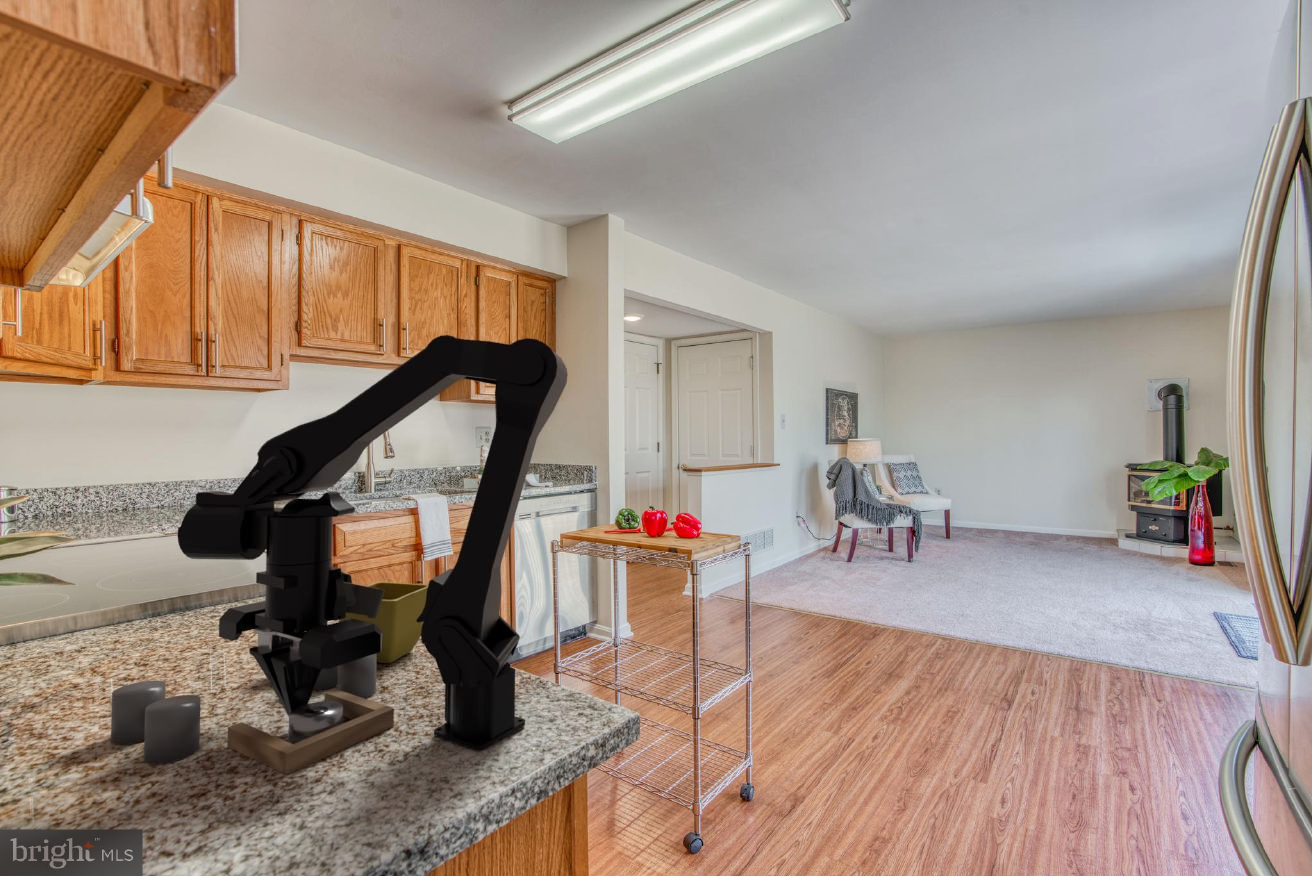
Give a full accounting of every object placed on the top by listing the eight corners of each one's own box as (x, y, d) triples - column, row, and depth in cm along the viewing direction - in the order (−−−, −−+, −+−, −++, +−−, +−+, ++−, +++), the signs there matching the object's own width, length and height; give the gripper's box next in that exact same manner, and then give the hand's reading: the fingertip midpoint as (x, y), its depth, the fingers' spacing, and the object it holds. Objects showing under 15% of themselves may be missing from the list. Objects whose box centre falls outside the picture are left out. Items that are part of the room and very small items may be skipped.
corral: (393, 726, 61) (393, 708, 61) (286, 774, 52) (287, 753, 52) (334, 705, 66) (335, 688, 66) (227, 746, 57) (227, 726, 57)
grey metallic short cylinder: (352, 731, 60) (353, 706, 60) (308, 752, 56) (309, 725, 56) (322, 722, 62) (322, 697, 62) (277, 741, 58) (278, 714, 58)
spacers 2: (383, 691, 70) (384, 651, 70) (351, 703, 67) (352, 662, 67) (303, 665, 78) (303, 630, 78) (270, 675, 75) (271, 638, 75)
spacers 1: (208, 749, 56) (209, 700, 57) (156, 768, 53) (157, 716, 53) (153, 721, 62) (154, 677, 62) (103, 738, 58) (104, 691, 59)
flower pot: (393, 671, 77) (394, 599, 77) (332, 665, 78) (333, 595, 78) (432, 648, 85) (433, 584, 85) (377, 644, 87) (378, 581, 87)
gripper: (429, 557, 63) (426, 707, 63) (322, 541, 73) (319, 673, 72) (325, 576, 54) (322, 754, 53) (217, 555, 63) (214, 707, 63)
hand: (296, 716), depth 61 cm, fingers closed
